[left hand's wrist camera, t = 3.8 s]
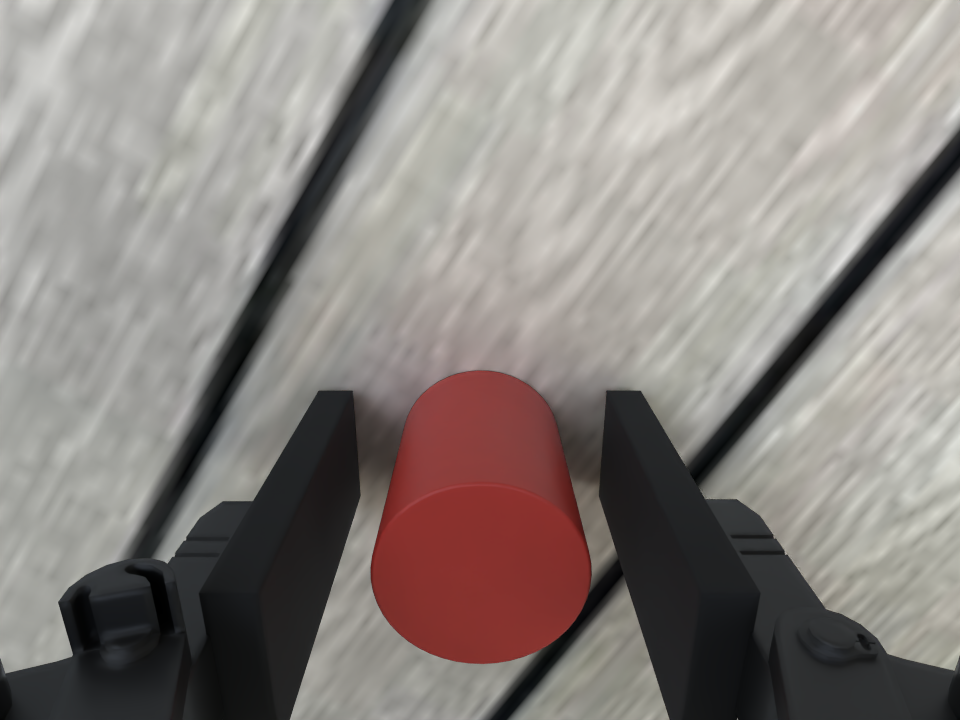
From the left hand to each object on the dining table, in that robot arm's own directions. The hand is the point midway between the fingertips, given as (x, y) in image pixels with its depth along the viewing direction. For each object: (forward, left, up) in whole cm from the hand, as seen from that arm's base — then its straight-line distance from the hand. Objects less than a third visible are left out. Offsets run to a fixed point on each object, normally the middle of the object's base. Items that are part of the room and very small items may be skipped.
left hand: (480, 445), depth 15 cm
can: (0, 0, 0) cm, 0 cm away
